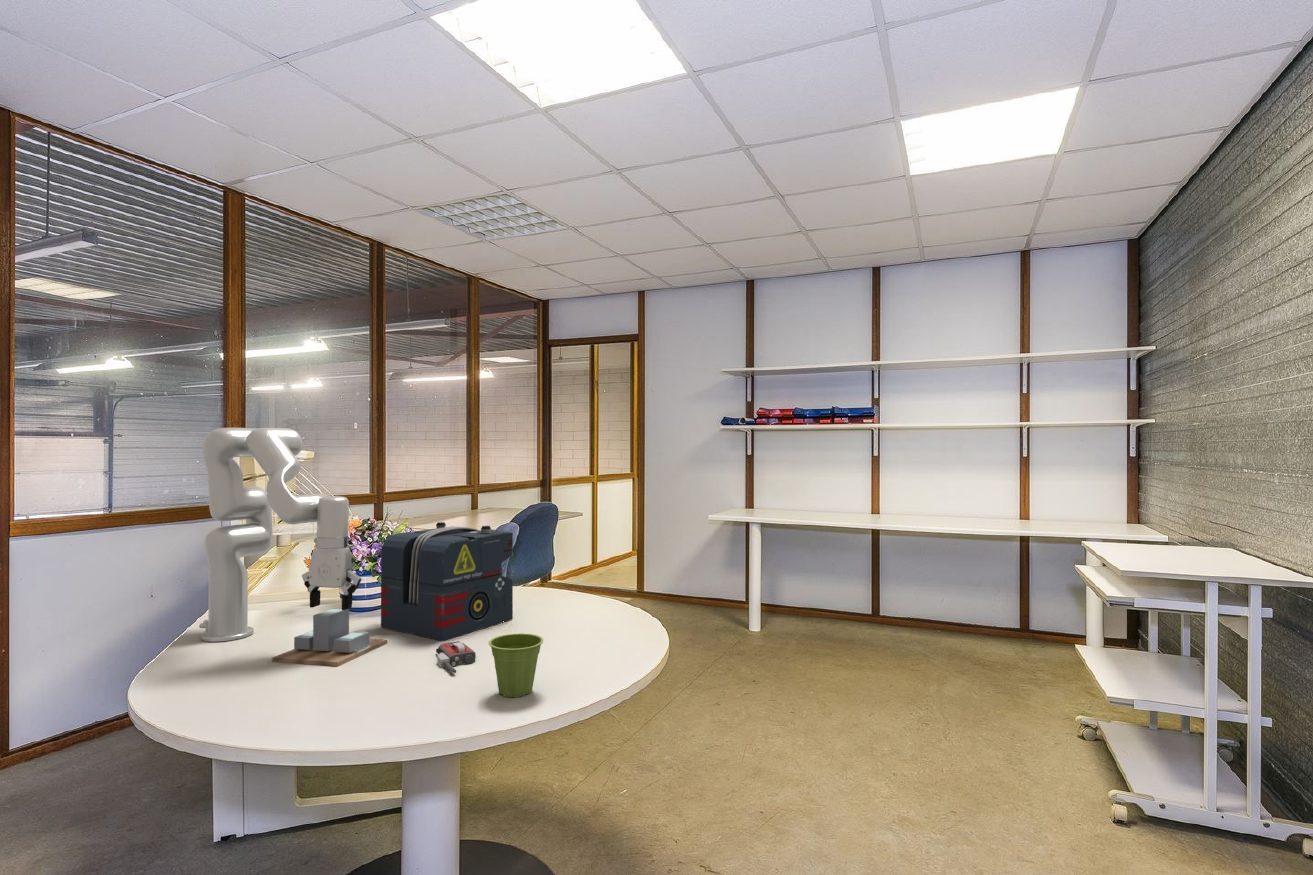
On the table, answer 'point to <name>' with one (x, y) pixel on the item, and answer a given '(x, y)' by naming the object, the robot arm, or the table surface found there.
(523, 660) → the plant pot
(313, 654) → the board
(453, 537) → the power unit
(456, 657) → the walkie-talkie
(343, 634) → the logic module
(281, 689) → the table surface
